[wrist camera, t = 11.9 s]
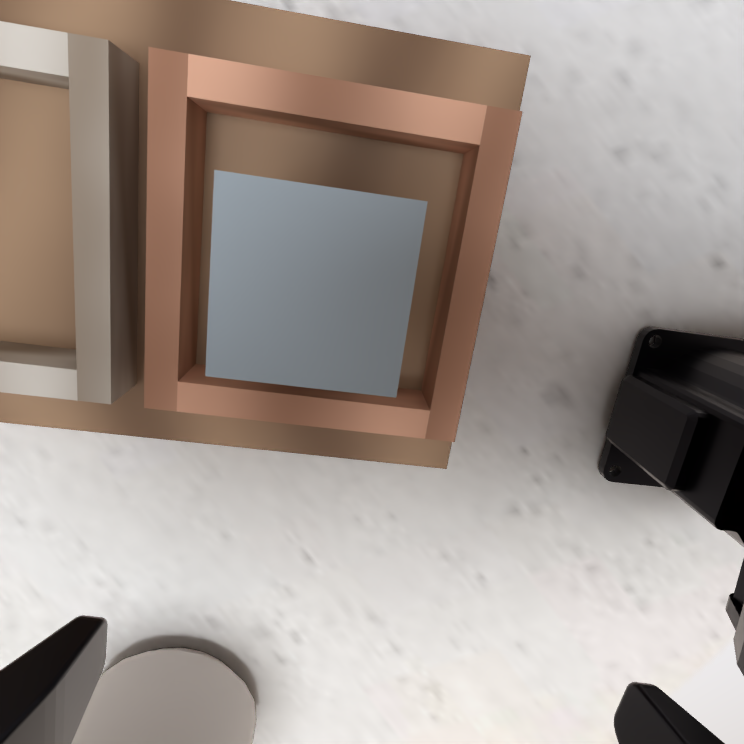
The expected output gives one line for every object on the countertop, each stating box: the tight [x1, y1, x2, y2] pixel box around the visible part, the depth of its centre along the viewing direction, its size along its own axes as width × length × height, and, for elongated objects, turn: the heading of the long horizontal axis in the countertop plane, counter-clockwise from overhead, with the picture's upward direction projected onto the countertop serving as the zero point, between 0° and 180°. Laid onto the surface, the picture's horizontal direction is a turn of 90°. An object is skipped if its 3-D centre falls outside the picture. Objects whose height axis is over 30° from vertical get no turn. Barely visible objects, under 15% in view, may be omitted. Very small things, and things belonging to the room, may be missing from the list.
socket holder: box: [0, 0, 531, 469], centre depth 16 cm, size 22×14×4 cm, turn 82°
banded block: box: [205, 170, 428, 398], centre depth 13 cm, size 4×4×7 cm
